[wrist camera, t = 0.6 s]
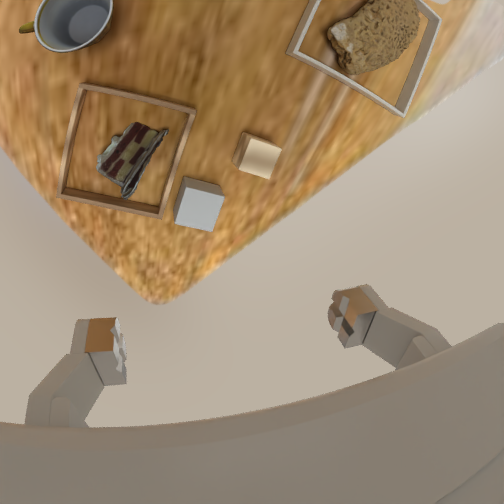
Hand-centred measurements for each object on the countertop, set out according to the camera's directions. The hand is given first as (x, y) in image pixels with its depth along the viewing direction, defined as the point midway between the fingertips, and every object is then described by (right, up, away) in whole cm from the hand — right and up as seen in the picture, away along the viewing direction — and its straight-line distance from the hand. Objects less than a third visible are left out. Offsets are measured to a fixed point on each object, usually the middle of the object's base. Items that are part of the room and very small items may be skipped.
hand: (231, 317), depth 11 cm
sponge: (+21, +41, +30) cm, 55 cm away
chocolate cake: (-18, +18, +32) cm, 41 cm away
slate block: (-8, +11, +39) cm, 41 cm away
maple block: (+1, +18, +37) cm, 42 cm away
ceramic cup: (-24, +34, +19) cm, 46 cm away
